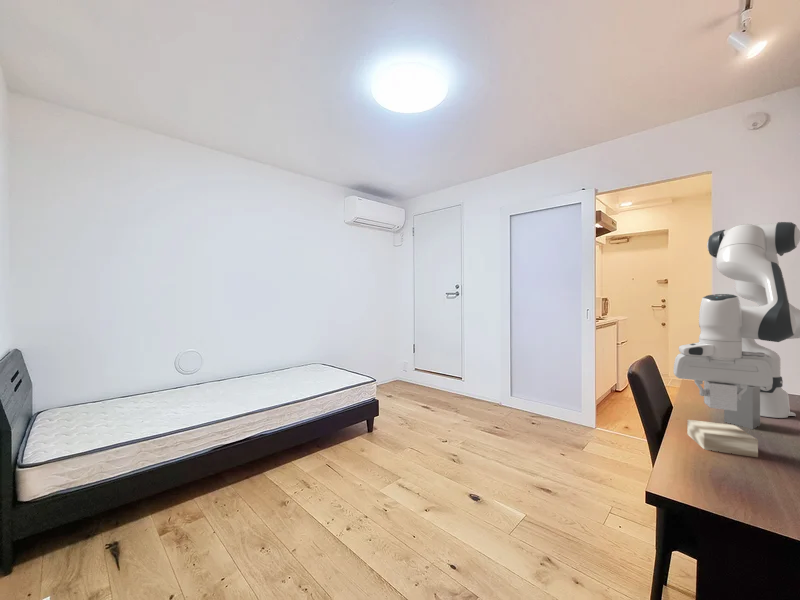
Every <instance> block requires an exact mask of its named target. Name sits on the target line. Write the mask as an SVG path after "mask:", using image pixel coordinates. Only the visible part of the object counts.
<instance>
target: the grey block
mask: <svg viewBox="0 0 800 600" xmlns="http://www.w3.org/2000/svg"><path fill="white" fill-rule="evenodd" d="M703 389H706V390H707V391H708V393H707V394H708V396H703V402H704V404H705V405H706V406H708V408H710V409H717V410H718V409H719V410H723V411H724V410H732V411H737V386H736V385H734V384H730V383H720V382H710V381H703Z"/></svg>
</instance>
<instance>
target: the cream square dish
mask: <svg viewBox="0 0 800 600" xmlns="http://www.w3.org/2000/svg"><path fill="white" fill-rule="evenodd" d="M686 421H687V423H686V424H687V425H686V426H687V427H686V428H687V430H686V431H687V433H686V434H687V435H688V436H689V437H690V438H691V440H693V441H694V442H695V443H696V444H697V445H698V446H700V447H701V448H702V449H703V450H704V449H705V451H711V450H712V451H714V452H718V451H719V453H725V454H731V453H732V455H738V456H739V455H740V456H746V457H754V458H759V439H757V437H754V436H753V435H751V434H749V433H748V432H746V431H745V430H743V429H742V428H740V427H739V426H738V425H734V424H730V423H719V422H714V421H713V422H711V421H706V420H705V421H703V420H695V419H687V420H686ZM712 451H711V452H712Z"/></svg>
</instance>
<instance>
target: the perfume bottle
mask: <svg viewBox="0 0 800 600" xmlns="http://www.w3.org/2000/svg"><path fill="white" fill-rule="evenodd" d="M734 385H736V386H737V384H734ZM738 389H739V387H738V386H737V390H738ZM723 411H724V412H723V416H724V417H723V418H724V421H723V422H724V423H726V422H727V423H726V424H730V423H731V424H730V425H734V424H735V426H738V425H739V426H738V427H742V426H743V428H746V427H747V428H746V429H751V430H754V429H757V426H758V427H760V426H761V416H760V386H750V385H747V390H746V391H745V392H744V393H743V394H742V399H741V400H737V411H732V410H724V409H723Z"/></svg>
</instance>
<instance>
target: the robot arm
mask: <svg viewBox="0 0 800 600" xmlns="http://www.w3.org/2000/svg"><path fill="white" fill-rule="evenodd" d="M799 244H800V229H799V228H798V226H797V225H796V224H795V223H794V222H790V221H779V222H778V221H777V223H776V222H775V223H760V224H759V223H758V224H750V223H747V224H745V223H743V224H739V225H735V226H733V227H731V228H729V229H721V230H717V231H714V232H713V233H712V234H711V235H709V237H708V240H707V242H706V248H707V251H708V252H709V253H708V254H709V255H710V256H712V257H714V258H715V259H716V260H715V261H716V262H715V264H716V268H717V271H718V272H719V273H720V274H721V275H723V276H725V277H727V278H729V279H730V280H731V279H732V280H733V281H734V289H735V293H736V295H735V294H729V293H717V294H709V295H706V296H703V297H702V298H701V302H700V305H699V306H700V307H699V312H698V326H699V328H700V334H699V335H698V342H693V343H687V344H682V345H679V346H678V351H679V353H678V354H677V355H676V356H675V358H674V363H673V375H674V376H675V377H676V378H678V379H683V380H692V381H694V384H695V385H696V386H697V388H698V389H699V396H700V397H704V396H708V394H707V393H708V391H707V390H706V389H704V387H702V385H704V381H710V382H720V383H730V384H737V386H738V387H739V389H738V390H737V400H741V399H742V394H743V393H744V392H745V391H746V390H747V385H750V386H760V417H766V418H767V417H768V418H774V419H775V418H776V419H778V418H779V419H783V418H784V419H785V418H788V416H795V417H796V416H797V415H796V413H795V412H793V411H790V410H791V408H790V399H789V398H790V397H789V393H788V392H787V391H786V390H784V389H783V387H784V386H783V383H784V381H783V376H781V357H780V355H779V354H778V353H777V352H776V351H774V350H772V349H770V348H768V347H765V346H762V345H761V344H759V343H758V342H756V340H761V341H766V342H772V343H773V342H774V343H780V342H782V341H785V340H790V339H791V340H792V339H793V340H795V339H800V309H799V308H797V307H795V306H794V305H792V304H791V303H790V302H789V297H788V296H789V295H788V292H787V287H786V282H785V279H784V276H783V271H782V268H781V267H780V265H779V258H778V255H779V256H780V257H782V256H784V254H788V253H790V252H792V251H793V250H795V249H796V248H797V247H798V245H799ZM738 296H739V297H741V298H742V299H745V300H747V301H751V302H754V303H755V304H757V305H741V302H740V298H739V297H738Z"/></svg>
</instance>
